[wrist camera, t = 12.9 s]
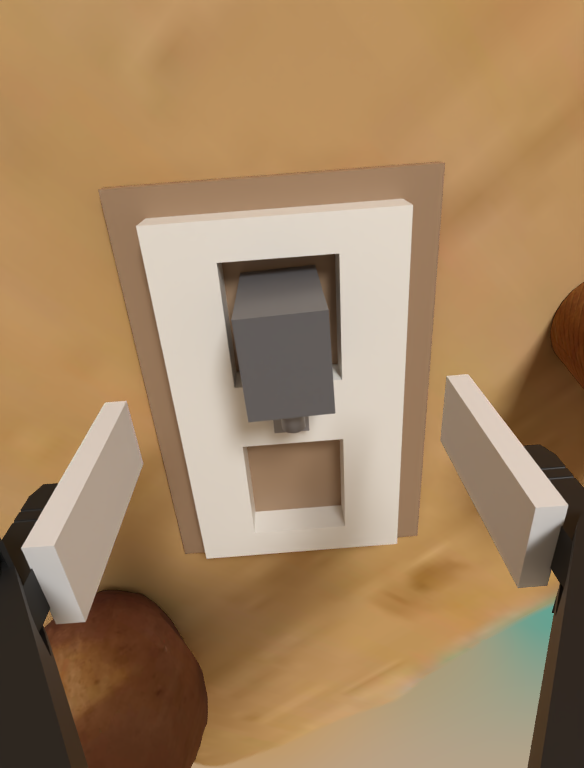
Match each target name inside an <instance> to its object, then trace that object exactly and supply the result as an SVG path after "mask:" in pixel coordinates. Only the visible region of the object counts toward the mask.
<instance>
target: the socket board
mask: <svg viewBox="0 0 584 768" xmlns="http://www.w3.org/2000/svg"><path fill="white" fill-rule="evenodd" d="M444 170H445V163H443V162H430V163H417V164H404V165H391V166H378V167H365V168H352V169H339V170H326V171H313V172H300V173H287V174H274V175H261V176H248V177H235V178H222V179H209V180H196V181H183V182H170V183H157V184H144V185H131V186H118V187H105V188H101V189H99V190H98V191H99V195H100V199H101V204H102V208H103V212H104V216H105V220H106V224H107V229H108V233H109V237H110V241H111V245H112V249H113V254H114V258H115V262H116V266H117V270H118V275H119V279H120V283H121V287H122V291H123V295H124V300H125V304H126V308H127V312H128V316H129V320H130V325H131V329H132V333H133V337H134V341H135V345H136V350H137V354H138V358H139V362H140V366H141V370H142V375H143V379H144V383H145V387H146V391H147V395H148V400H149V404H150V408H151V412H152V416H153V421H154V425H155V429H156V433H157V437H158V441H159V446H160V450H161V454H162V458H163V462H164V466H165V471H166V475H167V479H168V483H169V487H170V491H171V496H172V500H173V504H174V508H175V512H176V516H177V521H178V525H179V529H180V533H181V537H182V541H183V546H184V550H185V554H188V553H201V552H205V554H206V558H207V559H208V558H221V557H234V556H246V555H259V554H272V553H285V552H298V551H310V550H323V549H336V548H349V547H362V546H374V545H387V544H397V537H405V536H417V533H418V519H419V506H420V492H421V479H422V465H423V452H424V439H425V425H426V412H427V398H428V385H429V371H430V358H431V344H432V331H433V318H434V304H435V291H436V277H437V264H438V250H439V237H440V224H441V210H442V197H443V183H444ZM306 265H315V266H316V269H317V273H318V276H319V279H320V283H321V286H322V289H323V293H324V296H325V299H326V303H327V306H328V309H329V323H330V338H331V353H332V368H333V384H334V399H335V414H325V415H316V416H306V417H305V425H306V426H305V428H304V430H302V431H301V432H298V433H287V432H285V431H283V429H282V423H281V419H277V420H267V421H258V422H248V417H247V411H246V405H245V399H244V393H243V387H242V381H241V375H240V369H239V363H238V357H237V351H236V346H235V340H234V334H233V328H232V322H231V319H232V314H233V309H234V304H235V298H236V293H237V288H238V283H239V277H240V273H241V272H251V271H260V270H269V269H278V268H288V267H297V266H306Z"/></svg>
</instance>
